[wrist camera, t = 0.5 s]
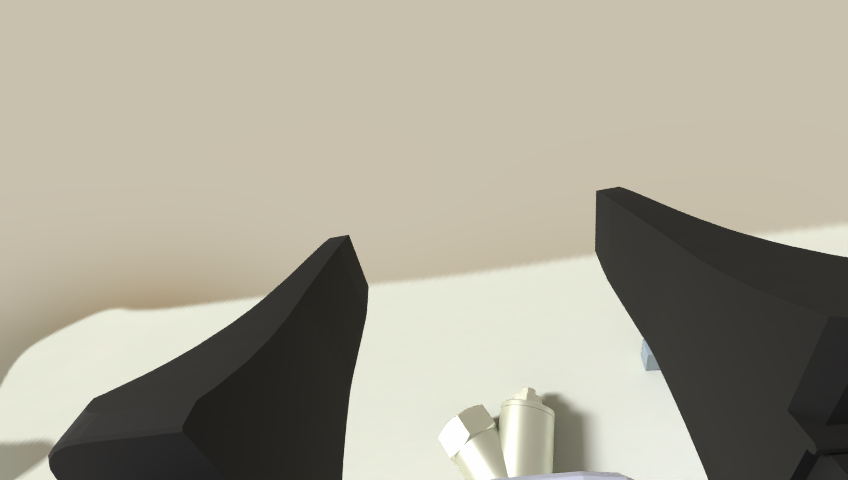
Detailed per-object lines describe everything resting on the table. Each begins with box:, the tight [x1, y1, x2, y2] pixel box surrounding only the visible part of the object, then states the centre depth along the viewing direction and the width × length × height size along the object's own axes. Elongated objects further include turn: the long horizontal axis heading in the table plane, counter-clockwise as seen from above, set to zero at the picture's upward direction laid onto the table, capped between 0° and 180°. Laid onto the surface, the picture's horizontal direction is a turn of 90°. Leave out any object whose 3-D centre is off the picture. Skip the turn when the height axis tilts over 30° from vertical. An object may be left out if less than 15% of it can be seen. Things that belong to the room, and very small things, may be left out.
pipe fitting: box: [439, 387, 555, 480], centre depth 23 cm, size 8×4×7 cm
